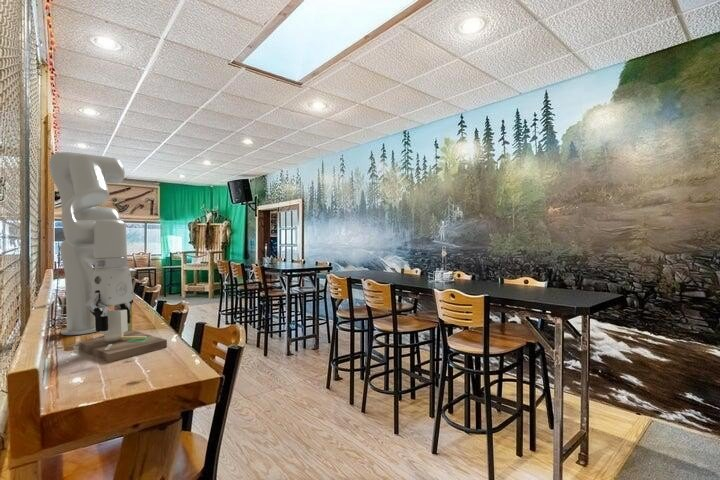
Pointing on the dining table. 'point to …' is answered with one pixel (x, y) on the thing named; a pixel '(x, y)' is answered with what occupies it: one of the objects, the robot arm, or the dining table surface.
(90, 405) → the dining table surface
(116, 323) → the white block on stick
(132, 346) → the dial board
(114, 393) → the dining table surface
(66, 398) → the dining table surface
